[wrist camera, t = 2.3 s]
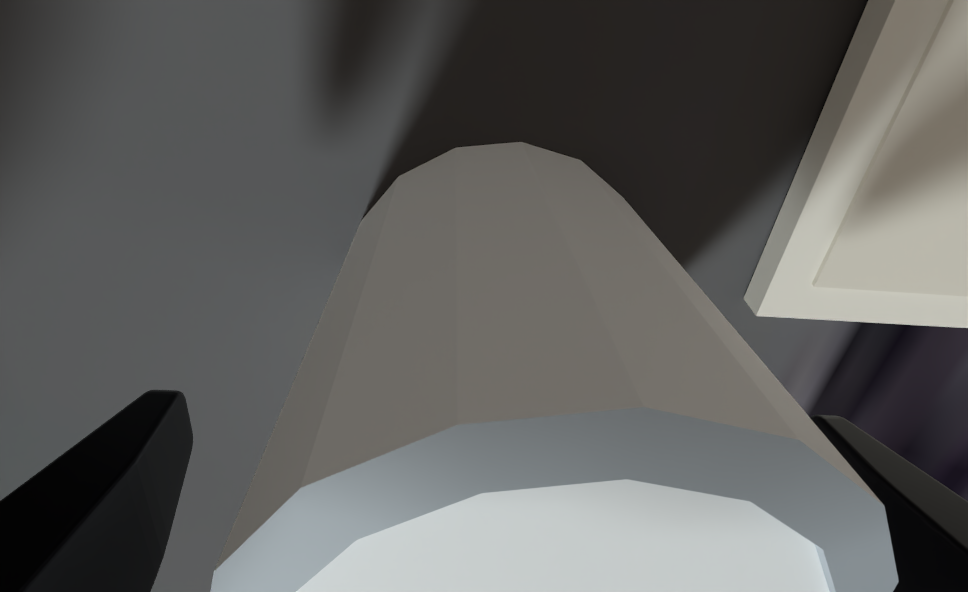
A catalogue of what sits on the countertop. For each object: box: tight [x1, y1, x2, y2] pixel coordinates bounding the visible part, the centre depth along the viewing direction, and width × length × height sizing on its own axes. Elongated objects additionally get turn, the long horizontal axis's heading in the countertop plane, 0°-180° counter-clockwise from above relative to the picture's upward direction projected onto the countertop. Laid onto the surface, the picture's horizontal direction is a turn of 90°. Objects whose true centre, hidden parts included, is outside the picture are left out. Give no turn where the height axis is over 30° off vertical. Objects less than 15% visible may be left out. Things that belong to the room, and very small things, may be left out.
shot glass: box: [210, 142, 899, 592], centre depth 9 cm, size 7×7×7 cm
